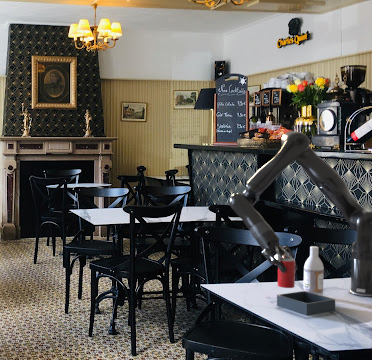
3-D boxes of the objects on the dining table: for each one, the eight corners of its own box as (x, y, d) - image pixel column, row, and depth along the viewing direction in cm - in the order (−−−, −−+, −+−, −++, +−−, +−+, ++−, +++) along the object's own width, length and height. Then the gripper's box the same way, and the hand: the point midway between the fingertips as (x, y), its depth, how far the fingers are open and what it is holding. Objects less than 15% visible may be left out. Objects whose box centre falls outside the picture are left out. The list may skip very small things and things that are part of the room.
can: (285, 283, 229) (286, 256, 228) (298, 287, 223) (298, 259, 222) (274, 285, 226) (274, 258, 225) (286, 288, 221) (286, 261, 220)
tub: (304, 304, 222) (304, 290, 221) (335, 313, 209) (335, 299, 209) (276, 308, 216) (277, 294, 216) (306, 318, 204) (306, 304, 204)
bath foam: (316, 301, 226) (317, 249, 225) (299, 297, 232) (300, 246, 230) (326, 298, 230) (328, 247, 228) (310, 294, 235) (311, 244, 234)
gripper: (258, 230, 225) (285, 267, 216) (281, 227, 233) (308, 262, 224) (246, 242, 230) (272, 278, 221) (269, 239, 238) (295, 273, 229)
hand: (290, 270), depth 223 cm, fingers closed on can, 6 cm apart
